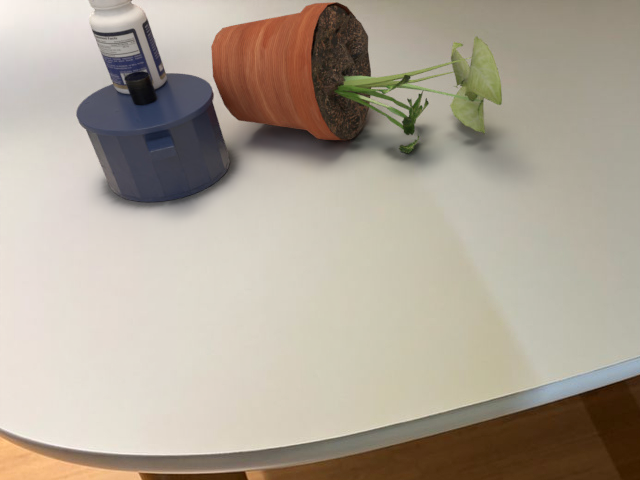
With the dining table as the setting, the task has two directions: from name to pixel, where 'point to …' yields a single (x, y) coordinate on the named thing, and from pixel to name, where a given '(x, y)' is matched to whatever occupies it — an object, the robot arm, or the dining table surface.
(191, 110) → the pot lid
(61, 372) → the dining table surface
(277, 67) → the potted plant
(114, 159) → the pot
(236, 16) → the dining table surface
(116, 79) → the pill bottle
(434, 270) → the dining table surface
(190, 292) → the dining table surface
